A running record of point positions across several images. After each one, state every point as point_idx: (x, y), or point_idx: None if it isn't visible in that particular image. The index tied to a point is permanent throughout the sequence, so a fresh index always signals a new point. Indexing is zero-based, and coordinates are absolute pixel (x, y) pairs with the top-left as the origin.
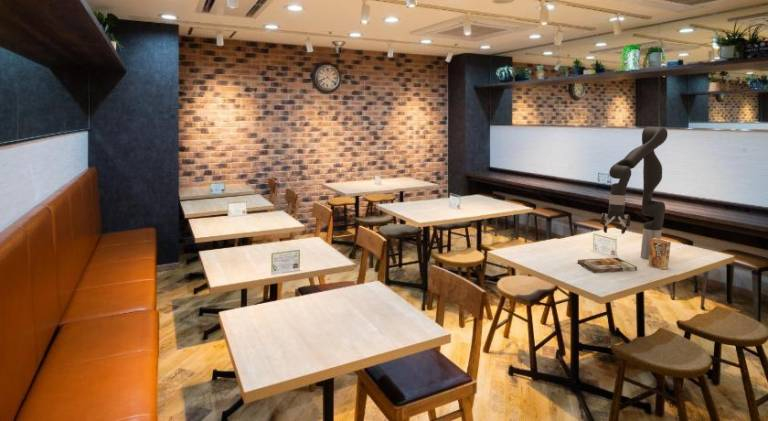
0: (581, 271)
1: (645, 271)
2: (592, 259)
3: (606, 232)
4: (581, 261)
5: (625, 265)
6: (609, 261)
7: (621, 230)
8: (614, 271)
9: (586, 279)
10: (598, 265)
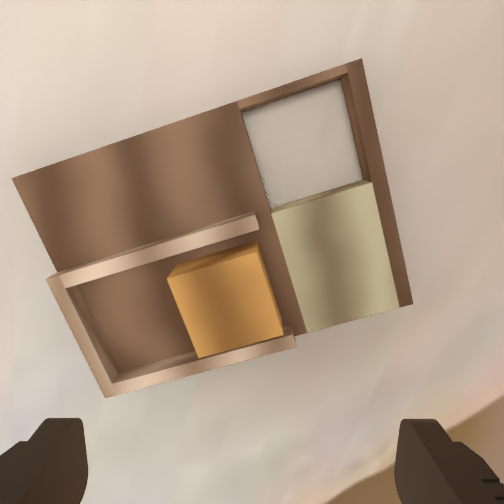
0: (47, 351)
1: (452, 304)
2: (129, 152)
3: (78, 496)
4: (38, 221)
5: (343, 280)
6: (211, 347)
7: (431, 459)
8: None
9: None
10: (150, 304)
